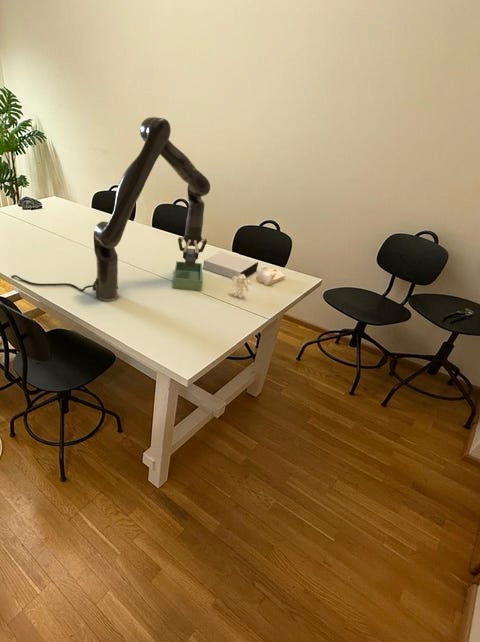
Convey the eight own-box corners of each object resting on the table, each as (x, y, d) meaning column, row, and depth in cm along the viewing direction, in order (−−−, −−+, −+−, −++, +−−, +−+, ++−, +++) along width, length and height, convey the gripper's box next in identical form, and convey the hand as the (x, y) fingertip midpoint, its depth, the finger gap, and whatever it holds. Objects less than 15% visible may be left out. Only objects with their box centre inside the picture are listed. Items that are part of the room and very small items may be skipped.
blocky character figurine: (227, 294, 173) (232, 271, 166) (231, 291, 176) (235, 268, 169) (245, 300, 169) (251, 276, 162) (249, 297, 171) (254, 273, 164)
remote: (184, 267, 173) (185, 260, 171) (185, 254, 186) (186, 247, 184) (194, 267, 173) (195, 260, 171) (194, 255, 186) (195, 248, 184)
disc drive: (240, 281, 185) (242, 272, 182) (202, 268, 197) (203, 259, 195) (256, 271, 196) (258, 262, 193) (219, 259, 208) (221, 251, 205)
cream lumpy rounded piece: (265, 286, 183) (272, 274, 178) (255, 278, 187) (262, 266, 181) (282, 281, 189) (289, 269, 184) (272, 272, 193) (279, 261, 187)
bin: (173, 288, 178) (174, 278, 175) (175, 270, 195) (176, 261, 192) (200, 290, 176) (202, 280, 173) (200, 272, 193) (201, 263, 190)
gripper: (209, 222, 171) (204, 257, 181) (179, 220, 173) (175, 255, 183) (210, 227, 165) (205, 263, 175) (178, 225, 167) (174, 261, 177)
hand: (190, 259), depth 179 cm, fingers closed on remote, 4 cm apart
